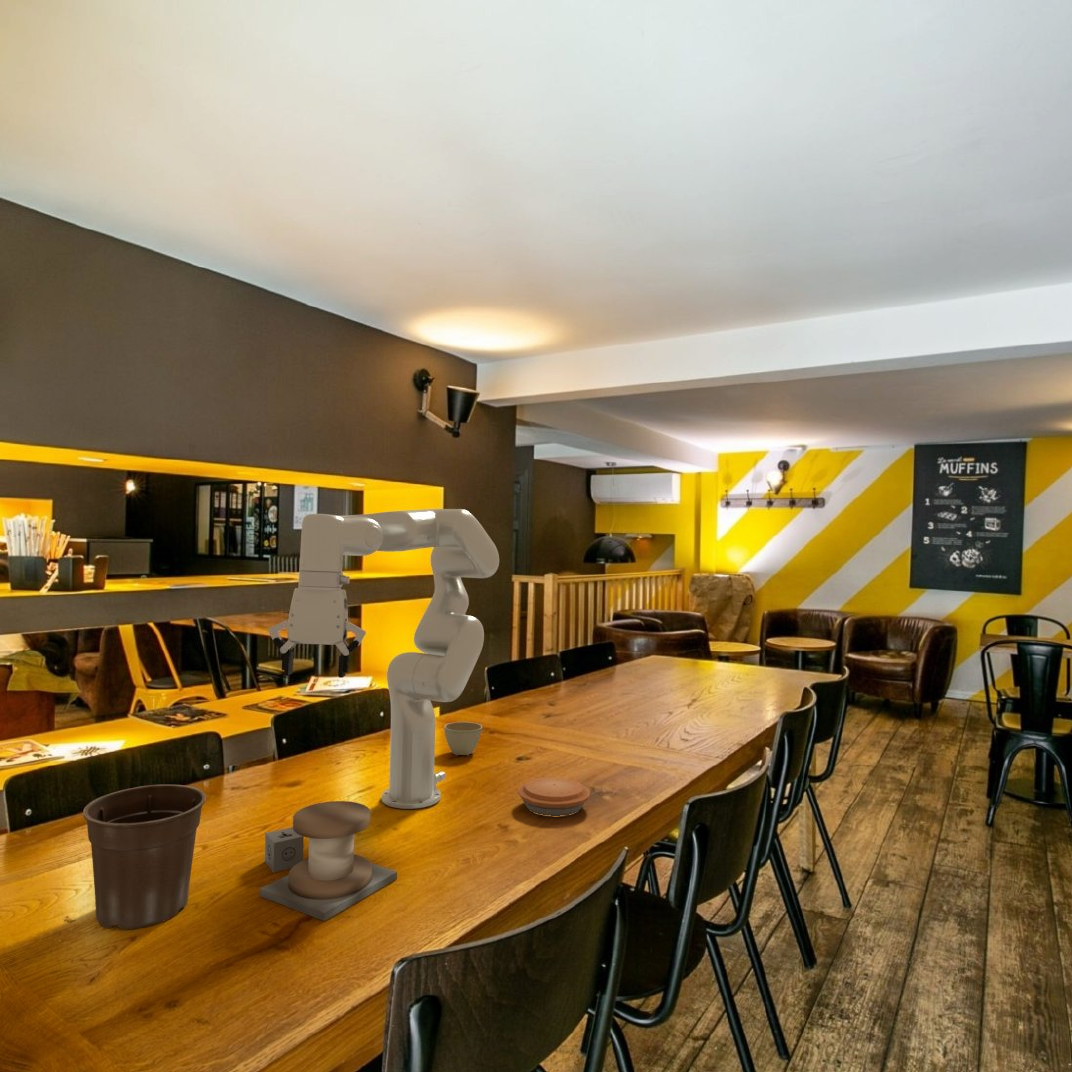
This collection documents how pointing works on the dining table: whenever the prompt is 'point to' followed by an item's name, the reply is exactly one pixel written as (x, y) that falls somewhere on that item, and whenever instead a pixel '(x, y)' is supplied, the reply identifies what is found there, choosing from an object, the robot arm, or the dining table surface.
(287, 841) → the dice cube
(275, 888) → the bobbin
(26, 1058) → the dining table surface
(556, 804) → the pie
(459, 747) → the flower pot
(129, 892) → the plant pot
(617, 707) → the dining table surface
